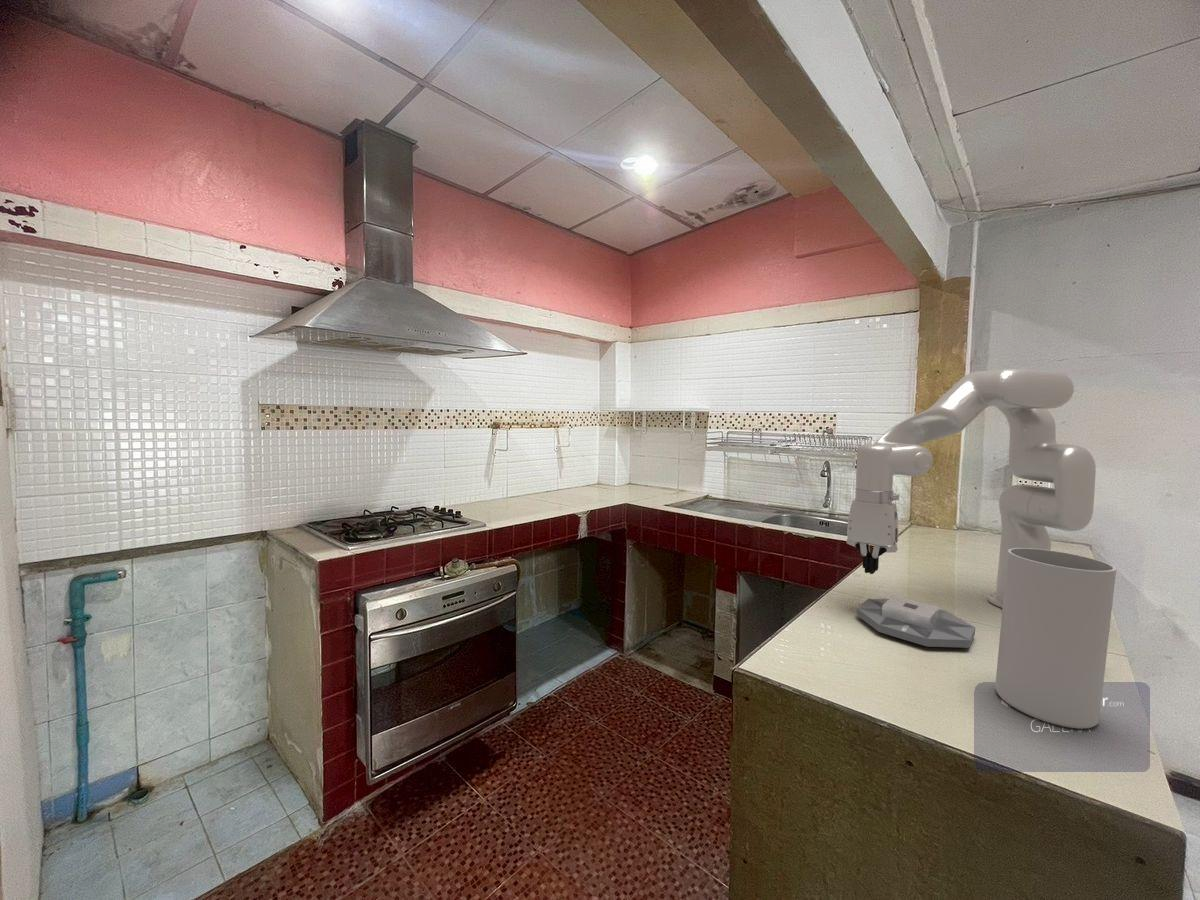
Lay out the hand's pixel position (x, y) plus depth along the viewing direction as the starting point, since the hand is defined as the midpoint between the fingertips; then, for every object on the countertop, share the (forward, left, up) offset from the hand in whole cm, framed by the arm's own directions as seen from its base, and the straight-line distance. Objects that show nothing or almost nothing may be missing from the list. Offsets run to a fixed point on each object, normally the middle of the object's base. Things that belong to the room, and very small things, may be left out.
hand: (870, 572), depth 112 cm
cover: (-9, +1, -8) cm, 12 cm away
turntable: (-10, +1, -10) cm, 14 cm away
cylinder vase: (-32, +19, -11) cm, 38 cm away
